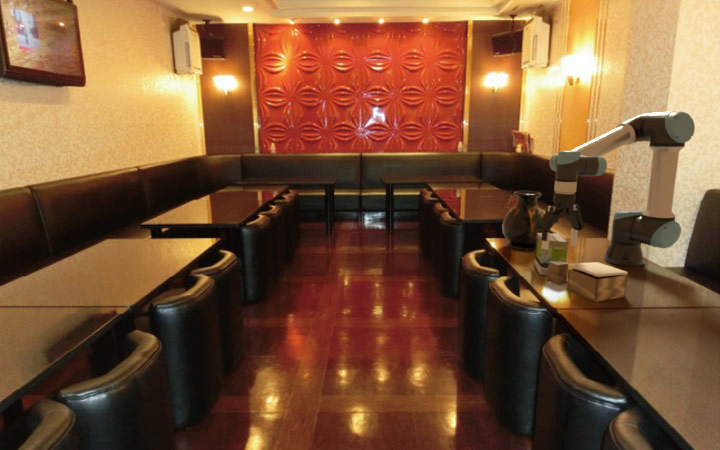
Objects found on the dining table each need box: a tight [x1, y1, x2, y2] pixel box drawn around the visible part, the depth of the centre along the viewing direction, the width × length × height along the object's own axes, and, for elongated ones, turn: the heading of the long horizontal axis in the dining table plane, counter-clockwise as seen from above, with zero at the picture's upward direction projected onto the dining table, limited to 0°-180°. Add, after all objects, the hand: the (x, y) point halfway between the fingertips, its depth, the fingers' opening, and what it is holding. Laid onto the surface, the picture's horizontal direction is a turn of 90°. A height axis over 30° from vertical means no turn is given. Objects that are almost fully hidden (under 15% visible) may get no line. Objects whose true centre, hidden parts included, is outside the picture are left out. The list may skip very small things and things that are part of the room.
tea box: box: [533, 232, 569, 276], centre depth 191 cm, size 15×10×15 cm
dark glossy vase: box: [501, 190, 545, 253], centre depth 224 cm, size 22×22×28 cm
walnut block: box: [546, 260, 569, 286], centre depth 177 cm, size 5×5×8 cm
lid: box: [568, 261, 628, 277], centre depth 163 cm, size 14×13×1 cm
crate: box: [565, 268, 628, 303], centre depth 165 cm, size 14×13×8 cm
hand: (559, 247), depth 174 cm, fingers open, 13 cm apart
